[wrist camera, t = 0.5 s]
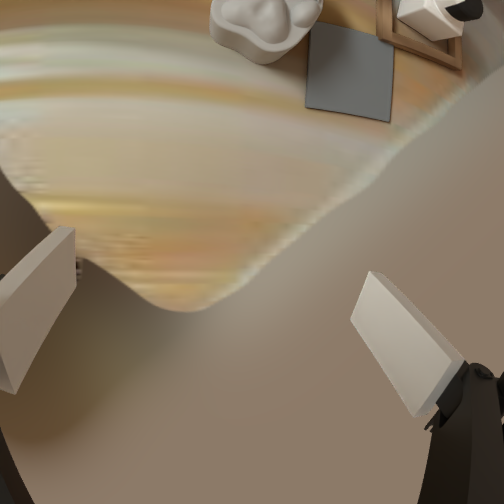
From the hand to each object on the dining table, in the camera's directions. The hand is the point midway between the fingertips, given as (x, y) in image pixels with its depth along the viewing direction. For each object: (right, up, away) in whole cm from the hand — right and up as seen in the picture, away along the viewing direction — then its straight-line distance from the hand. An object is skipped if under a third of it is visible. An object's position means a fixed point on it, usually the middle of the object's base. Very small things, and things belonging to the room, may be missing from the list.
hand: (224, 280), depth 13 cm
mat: (+14, +25, +22) cm, 35 cm away
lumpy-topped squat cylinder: (+2, +30, +18) cm, 35 cm away
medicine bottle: (+26, +36, +18) cm, 48 cm away
